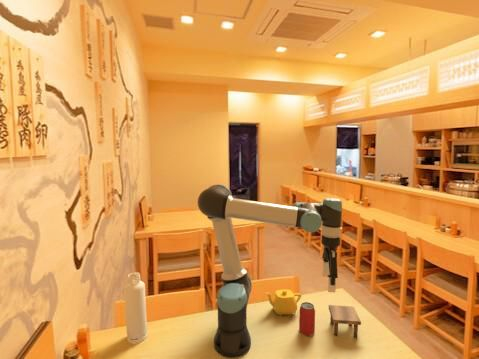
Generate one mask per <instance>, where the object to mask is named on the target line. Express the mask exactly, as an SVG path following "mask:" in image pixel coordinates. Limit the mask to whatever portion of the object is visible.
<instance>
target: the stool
mask: <svg viewBox="0 0 479 359" xmlns="http://www.w3.org/2000/svg"><path fill="white" fill-rule="evenodd" d="M328 310H329V313H330V323H329V324H330V325H333V336H334V337H338V336H339V324H341V325H348V326H350V327H352V326H353V334H352V336H353V338H355V339H358V332H359V329H358V328H359V326H361V325H362V322H361V319H360V317H359V314H358V312H357V310H356V309H355V307H354V306H349V305H335V304H333V305H332V304H328Z"/></svg>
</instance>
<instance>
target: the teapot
mask: <svg viewBox="0 0 479 359" xmlns="http://www.w3.org/2000/svg"><path fill="white" fill-rule="evenodd" d="M265 294H266V295H267V297H268V301H269V304H270V305H271V306H272V308H273V310H274V311H275V313H276V314H278V316H281V317H282V316H283V315H284V316H285V315H286V316H287V315H289V316H293V315H294V314H296V312H297V311H298V302H299V301H300V300H301V299H302V294H301V293H299V292H296V293H294V292H293V291H292V290H291V289H277V290H275V292H274V294H273V297H272V294H271V293H270V292H268V291H267V292H265ZM296 297H297V298H296Z"/></svg>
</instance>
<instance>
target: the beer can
mask: <svg viewBox="0 0 479 359" xmlns="http://www.w3.org/2000/svg"><path fill="white" fill-rule="evenodd" d="M298 315H299V318H298V319H299V321H298V324H299V325H298V330H299V332H300V333H301V334H302V335H304V336H308V337H309V336H312V335H314V334H315V331H316V330H315V329H316V310H315V306H314V304H313V303H311V302H308V301H304V302H302V303H300V307H299V313H298Z"/></svg>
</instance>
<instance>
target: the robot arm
mask: <svg viewBox="0 0 479 359" xmlns="http://www.w3.org/2000/svg"><path fill="white" fill-rule="evenodd" d="M232 195H233V194H232V191H231V190H230V189H229V188H228V187H227V186H226V185H224V184H219V183H218V184H213V185H211V186H209V187H208V188H206V189H204V190H203V191H201V193H200V194H199V195H198V198H197V207H198V209H199V211H200V213H201V214H203V215H204V216H206V217H207V219H208V220H209V221H211V222H212V228H213V231H214V236H215V239H216V240H215V241H216V244H217V248H218V252H219V257H220V262H221V265H222V270H223V271H222V274H221V281H222V286H221V287H220V288H219V290H218V292H217V297H216V304H217V329H216V331H215V335H214V339H213V347H214V350H215V352H216V353H217V354H218V355H220V356H222V357H225V358H239V357H242V356H244V355H246V354H247V353H248V352H249V350H250V349H251V346H252V338H251V334H250V332H249V330H248V329H249V328H248V326H247V321H248V320H247V311H248V310H247V307H248V303H249V299H250V294H251V292H252V281H251V278H250V276H249V274H248V271H247V269H246V268H245V267H244V266H243V265H242V260H241V254H240V251H239V246H238V242H237V238H236V234H235V228H234V225H233V220H232V219H238V220H239V219H240V220H244V221H245V220H246V221H253V222H259V223H266V224H273V225H280V226H284V227H285V226H286V227H293V228H298V229H303V230H304V231H305V232H307V233H316V232H317V231H319V230H320V229H321V241H320V242H321V244H322V245H323V252H322V256H321V257H322V261H323V262H322V277H324V278H325V277H327V278H328V285H327V287H328V288H327V293H336V286H337V279H338V277H339V276H338V260H337V259H338V252H337V250H336V249H335V248H338V247H339V246H340V245H341V231H343V227H342V218H343V203H342V202H343V201H342V200H341V199H340V198H335V197H325V198H324V199H323V200H322V202H303V201H300V202H295V203H294V204H293V205H292V206H291V205H284V204H276V203H270V202H264V201H263V202H262V201H255V200H251V199H250V200H249V199H240V198H236V197H233V196H232Z"/></svg>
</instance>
